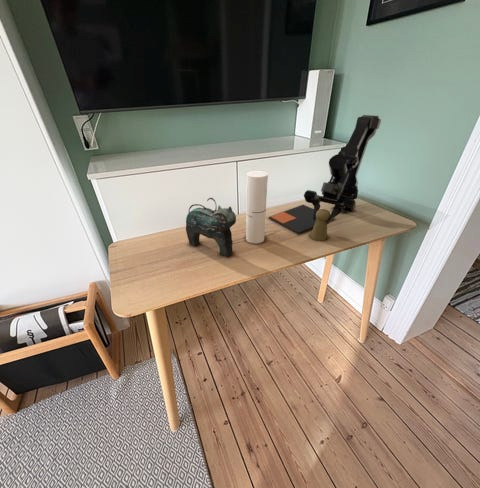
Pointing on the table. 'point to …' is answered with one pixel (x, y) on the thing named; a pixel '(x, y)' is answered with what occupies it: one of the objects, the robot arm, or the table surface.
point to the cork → (320, 225)
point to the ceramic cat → (211, 226)
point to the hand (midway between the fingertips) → (320, 221)
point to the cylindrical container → (256, 205)
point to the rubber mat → (296, 219)
